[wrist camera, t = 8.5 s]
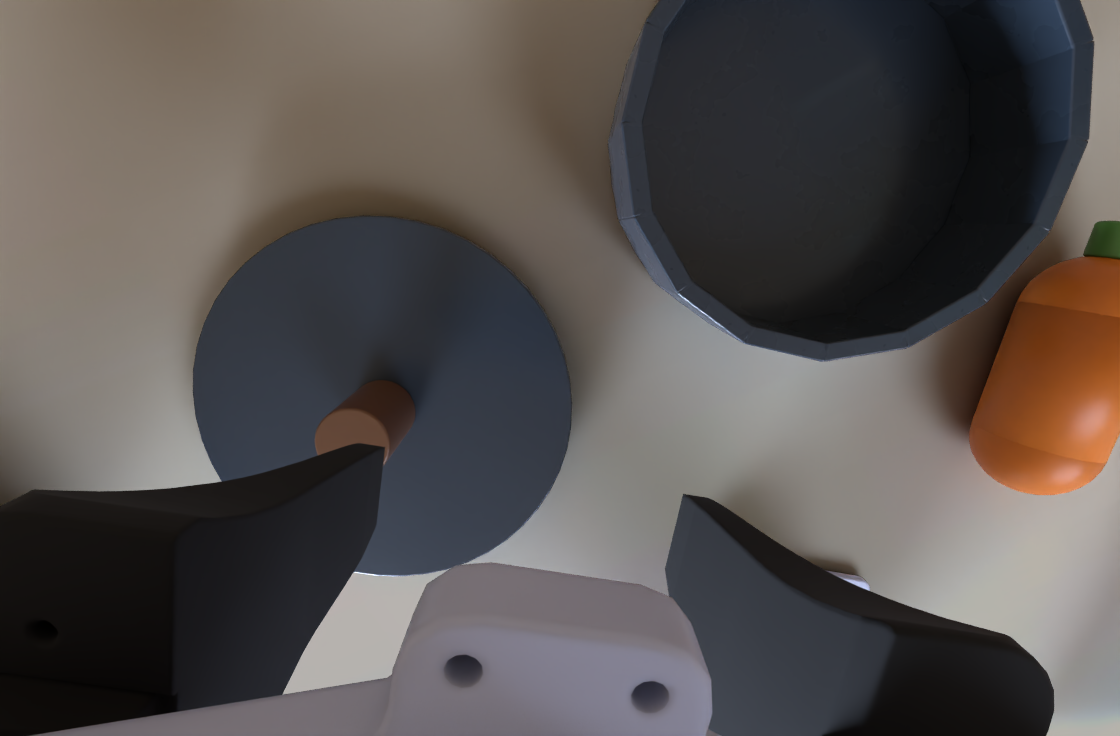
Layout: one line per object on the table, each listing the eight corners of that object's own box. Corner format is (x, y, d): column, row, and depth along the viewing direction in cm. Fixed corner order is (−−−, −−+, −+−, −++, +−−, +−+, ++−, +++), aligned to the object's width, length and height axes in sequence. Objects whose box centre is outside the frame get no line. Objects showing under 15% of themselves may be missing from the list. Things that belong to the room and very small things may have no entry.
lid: (595, 534, 24) (605, 603, 19) (268, 584, 24) (203, 664, 20) (537, 186, 21) (533, 173, 16) (159, 250, 21) (52, 256, 16)
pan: (974, 303, 22) (1080, 320, 17) (634, 358, 22) (655, 389, 18) (978, -91, 19) (1108, -189, 14) (583, -20, 19) (593, -95, 15)
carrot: (1022, 475, 23) (1115, 523, 20) (931, 459, 23) (1007, 505, 19) (1119, 235, 21) (1246, 235, 17) (1020, 214, 21) (1126, 211, 17)
